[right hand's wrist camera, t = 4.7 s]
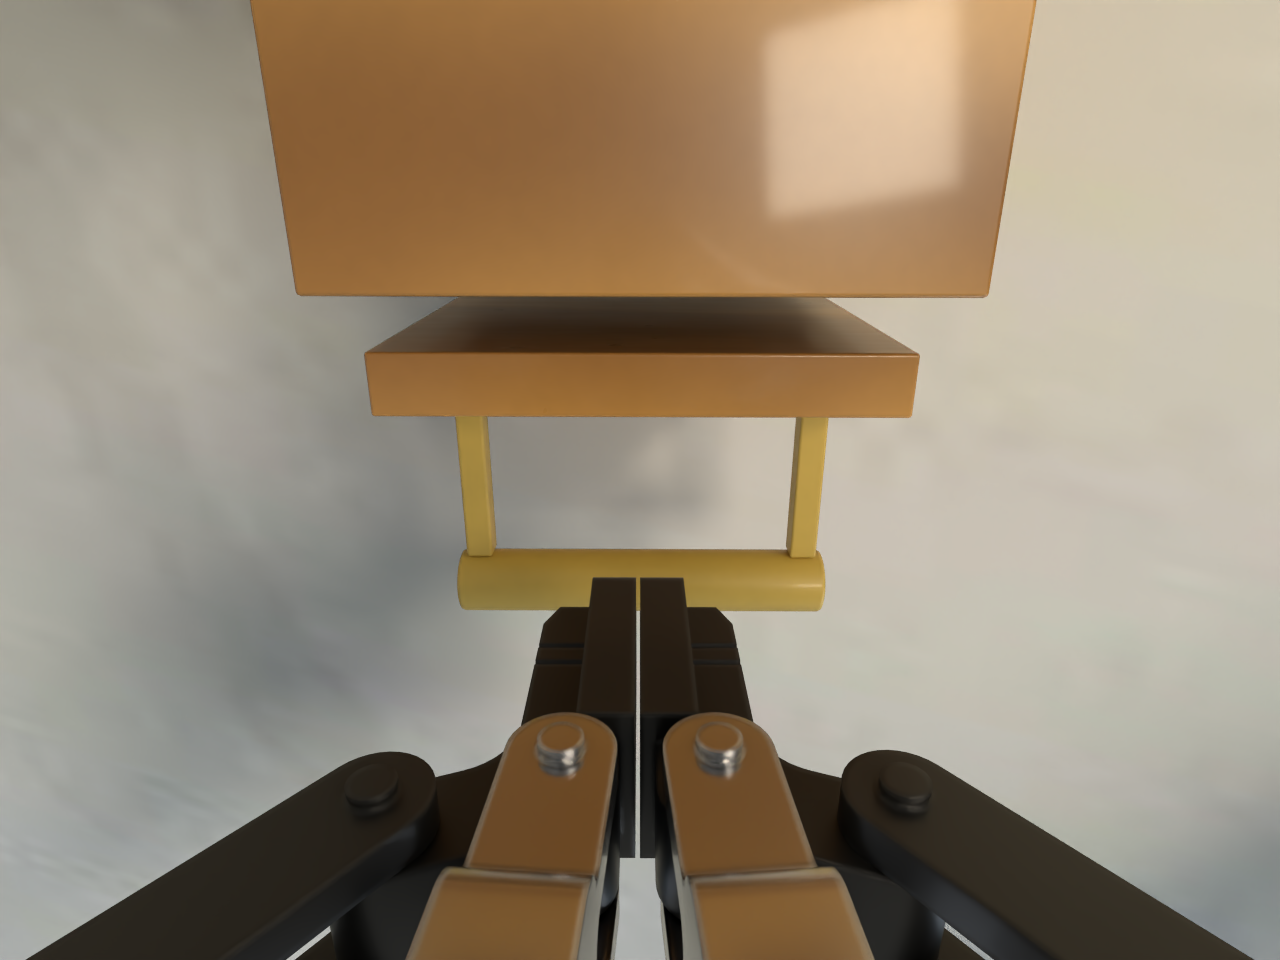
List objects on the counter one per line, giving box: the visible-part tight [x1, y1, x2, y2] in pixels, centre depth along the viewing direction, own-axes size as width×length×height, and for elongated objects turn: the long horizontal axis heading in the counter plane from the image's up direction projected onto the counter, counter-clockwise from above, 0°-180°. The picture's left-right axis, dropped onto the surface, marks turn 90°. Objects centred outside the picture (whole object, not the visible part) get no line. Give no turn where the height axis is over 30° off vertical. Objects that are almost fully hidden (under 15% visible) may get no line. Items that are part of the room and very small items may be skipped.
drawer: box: [364, 297, 920, 611], centre depth 16 cm, size 22×10×9 cm, turn 0°
